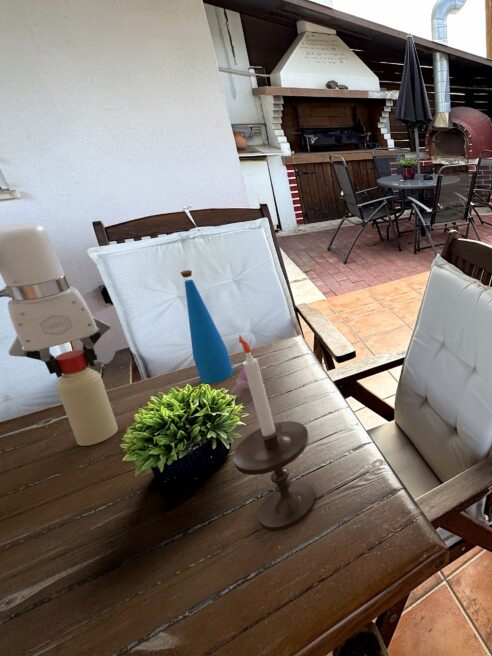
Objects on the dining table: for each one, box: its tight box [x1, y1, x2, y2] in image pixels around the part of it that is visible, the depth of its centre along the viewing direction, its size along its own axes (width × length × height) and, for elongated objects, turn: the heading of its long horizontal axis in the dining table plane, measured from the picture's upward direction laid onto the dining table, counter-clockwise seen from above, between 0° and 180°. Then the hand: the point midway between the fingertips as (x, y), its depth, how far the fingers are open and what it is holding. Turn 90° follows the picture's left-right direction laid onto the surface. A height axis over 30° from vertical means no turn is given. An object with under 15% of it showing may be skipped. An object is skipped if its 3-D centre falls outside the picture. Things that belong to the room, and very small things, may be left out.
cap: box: [54, 349, 90, 375], centre depth 82 cm, size 4×4×3 cm
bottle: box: [180, 269, 234, 384], centre depth 104 cm, size 7×7×30 cm
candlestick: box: [232, 334, 317, 532], centre depth 66 cm, size 11×11×35 cm
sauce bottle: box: [56, 367, 119, 447], centre depth 85 cm, size 6×6×20 cm
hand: (75, 368), depth 83 cm, fingers closed on cap, 4 cm apart
